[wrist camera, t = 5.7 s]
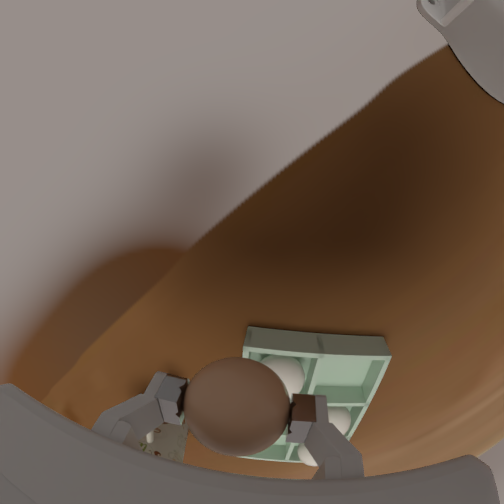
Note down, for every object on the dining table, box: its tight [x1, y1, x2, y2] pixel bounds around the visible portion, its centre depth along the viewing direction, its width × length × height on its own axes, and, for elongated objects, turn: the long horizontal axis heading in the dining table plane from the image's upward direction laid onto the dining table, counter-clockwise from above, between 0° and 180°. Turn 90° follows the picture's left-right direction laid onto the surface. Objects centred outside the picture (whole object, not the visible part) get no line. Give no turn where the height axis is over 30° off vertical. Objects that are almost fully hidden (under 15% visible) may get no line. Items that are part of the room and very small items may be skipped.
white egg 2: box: [297, 443, 318, 466], centre depth 26 cm, size 5×5×5 cm
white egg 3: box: [327, 406, 351, 435], centre depth 24 cm, size 5×5×5 cm
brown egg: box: [183, 357, 291, 457], centre depth 11 cm, size 5×5×5 cm
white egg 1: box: [260, 354, 305, 400], centre depth 23 cm, size 5×5×5 cm
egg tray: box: [241, 326, 392, 463], centre depth 26 cm, size 19×13×3 cm
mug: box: [138, 417, 189, 463], centre depth 25 cm, size 8×13×10 cm, turn 167°
